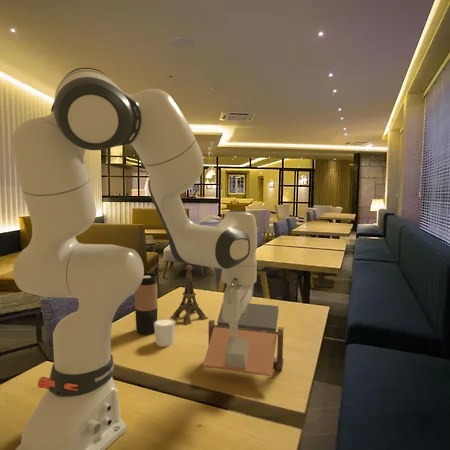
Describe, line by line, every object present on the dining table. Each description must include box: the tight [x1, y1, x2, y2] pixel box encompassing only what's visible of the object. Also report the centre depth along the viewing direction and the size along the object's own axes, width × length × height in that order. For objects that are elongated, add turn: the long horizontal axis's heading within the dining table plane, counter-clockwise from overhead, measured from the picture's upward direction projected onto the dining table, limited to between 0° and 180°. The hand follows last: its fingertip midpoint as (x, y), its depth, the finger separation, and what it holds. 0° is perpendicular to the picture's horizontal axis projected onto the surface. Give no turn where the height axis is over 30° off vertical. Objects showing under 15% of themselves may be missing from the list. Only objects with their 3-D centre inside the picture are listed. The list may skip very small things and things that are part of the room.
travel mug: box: [134, 272, 158, 336], centre depth 123 cm, size 8×8×20 cm
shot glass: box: [154, 318, 176, 348], centre depth 114 cm, size 7×7×7 cm
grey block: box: [225, 336, 249, 368], centre depth 90 cm, size 5×5×6 cm
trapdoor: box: [202, 302, 279, 378], centre depth 99 cm, size 22×18×2 cm
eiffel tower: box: [170, 264, 209, 326], centre depth 135 cm, size 11×11×25 cm
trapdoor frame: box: [207, 319, 284, 372], centre depth 102 cm, size 5×21×12 cm, turn 76°
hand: (238, 326), depth 90 cm, fingers open, 8 cm apart
